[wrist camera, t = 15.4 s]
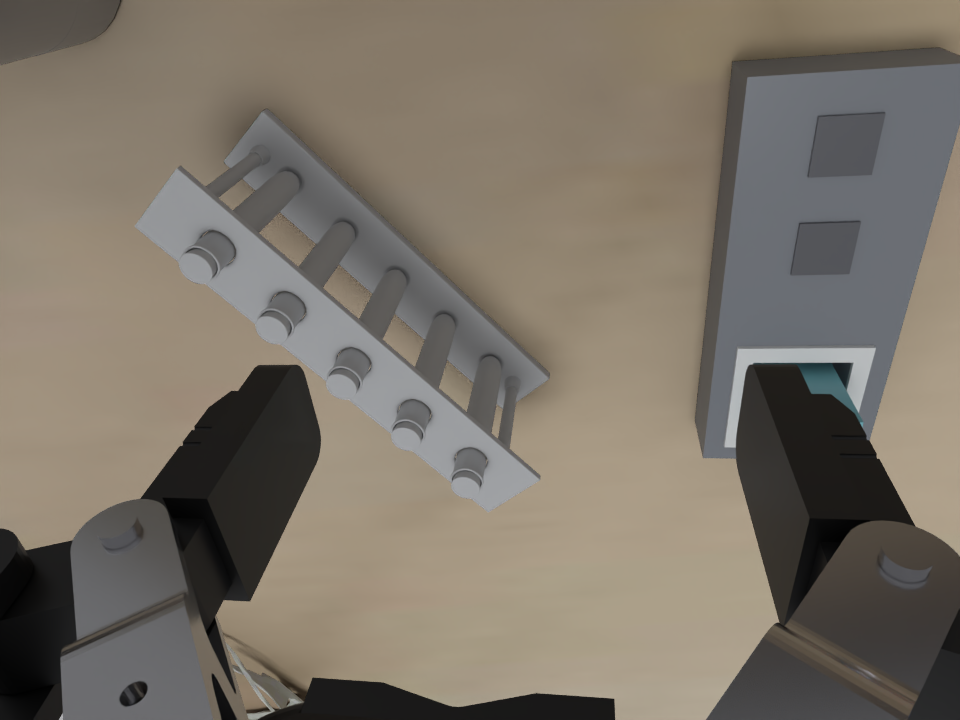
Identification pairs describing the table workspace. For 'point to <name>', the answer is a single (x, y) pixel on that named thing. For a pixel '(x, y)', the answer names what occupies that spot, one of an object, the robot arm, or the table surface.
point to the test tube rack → (331, 327)
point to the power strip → (822, 220)
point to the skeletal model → (265, 688)
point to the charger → (825, 382)
